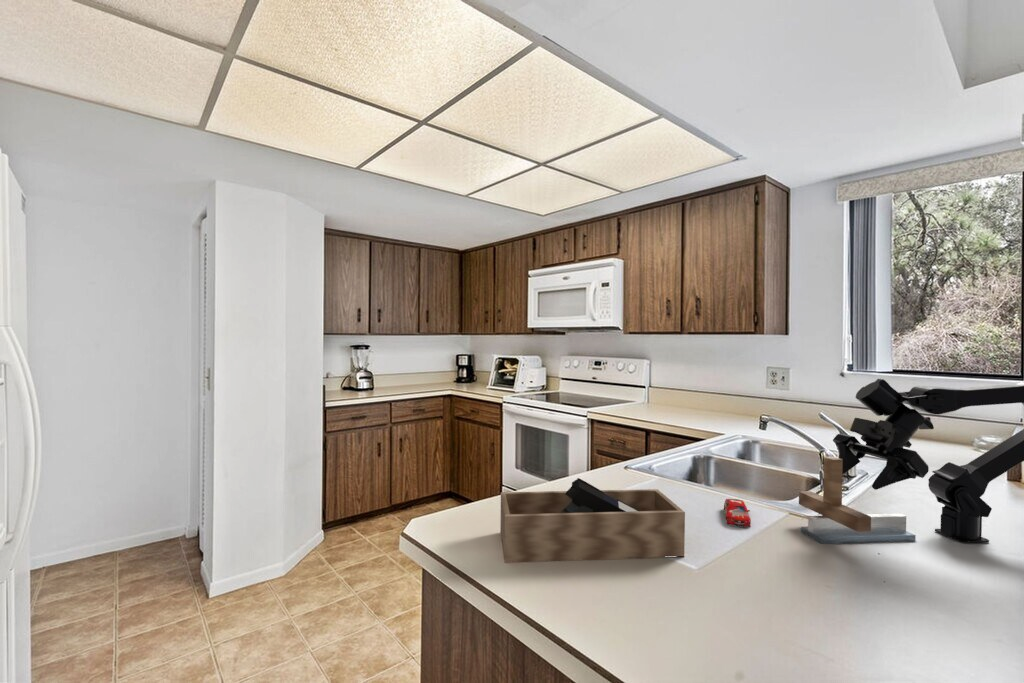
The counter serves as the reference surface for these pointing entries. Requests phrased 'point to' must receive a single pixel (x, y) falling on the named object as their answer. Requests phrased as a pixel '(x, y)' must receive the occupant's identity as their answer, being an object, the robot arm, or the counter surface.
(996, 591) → the counter surface
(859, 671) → the counter surface
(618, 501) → the toy gun
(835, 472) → the wooden t-shaped stand
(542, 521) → the box
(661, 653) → the counter surface
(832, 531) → the ridge stand
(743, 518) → the race car
